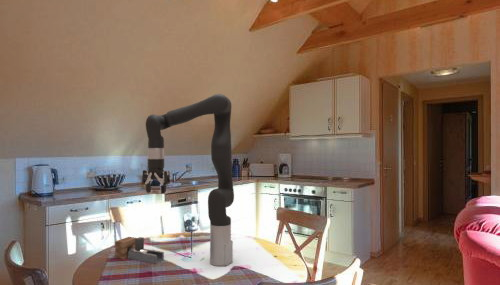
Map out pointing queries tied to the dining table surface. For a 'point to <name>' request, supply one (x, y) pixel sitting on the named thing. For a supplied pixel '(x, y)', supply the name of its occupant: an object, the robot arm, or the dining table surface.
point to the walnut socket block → (123, 247)
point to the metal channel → (146, 256)
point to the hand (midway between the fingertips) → (155, 192)
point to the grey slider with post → (138, 246)
